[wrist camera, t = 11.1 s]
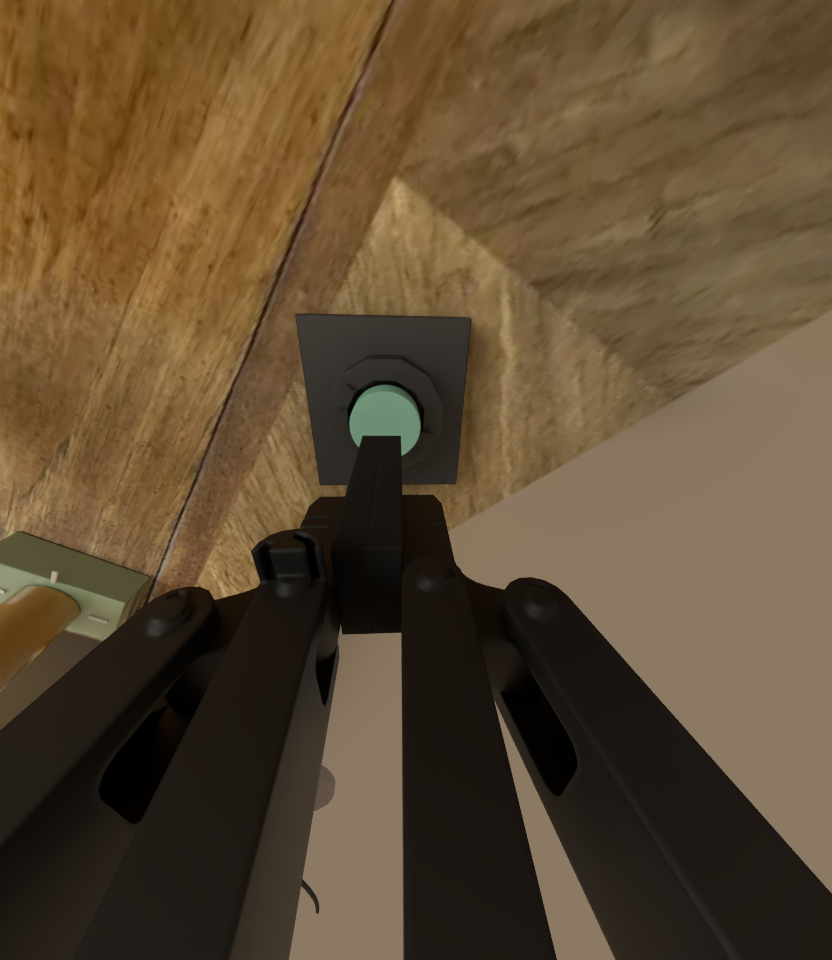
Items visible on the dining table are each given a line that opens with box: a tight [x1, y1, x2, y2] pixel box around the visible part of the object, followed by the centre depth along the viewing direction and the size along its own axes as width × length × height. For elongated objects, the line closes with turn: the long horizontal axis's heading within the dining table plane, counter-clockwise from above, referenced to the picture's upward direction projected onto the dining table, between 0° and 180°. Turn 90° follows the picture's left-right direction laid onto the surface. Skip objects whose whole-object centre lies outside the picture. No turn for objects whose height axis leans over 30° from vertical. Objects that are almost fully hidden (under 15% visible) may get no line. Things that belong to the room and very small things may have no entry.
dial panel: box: [0, 531, 150, 640], centre depth 27 cm, size 10×9×3 cm
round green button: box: [349, 385, 421, 456], centre depth 18 cm, size 4×4×2 cm
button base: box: [295, 314, 471, 485], centre depth 20 cm, size 11×10×4 cm
